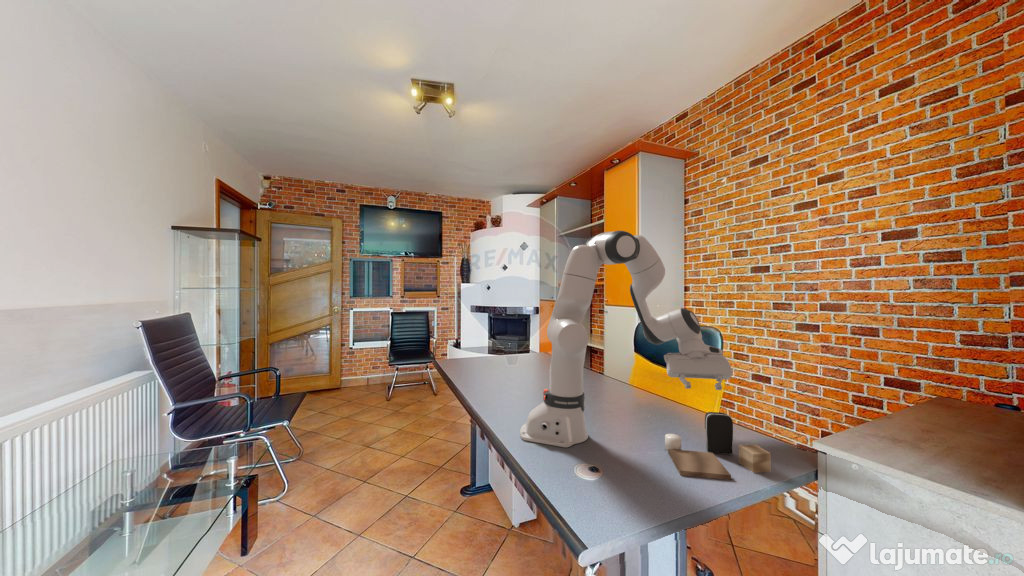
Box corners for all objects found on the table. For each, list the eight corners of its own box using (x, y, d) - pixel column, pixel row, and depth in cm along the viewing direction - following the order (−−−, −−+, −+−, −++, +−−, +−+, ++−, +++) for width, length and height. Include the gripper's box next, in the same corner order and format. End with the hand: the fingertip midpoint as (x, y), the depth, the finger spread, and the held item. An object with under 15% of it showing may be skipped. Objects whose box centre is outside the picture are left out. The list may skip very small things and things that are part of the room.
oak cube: (752, 472, 89) (752, 453, 89) (738, 463, 94) (738, 445, 94) (770, 472, 90) (770, 453, 90) (755, 462, 95) (755, 444, 95)
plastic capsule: (667, 452, 100) (667, 439, 100) (663, 446, 105) (663, 433, 105) (683, 454, 100) (683, 440, 100) (678, 447, 104) (678, 434, 104)
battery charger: (729, 449, 102) (729, 411, 102) (733, 455, 98) (733, 416, 98) (703, 447, 104) (703, 409, 104) (707, 452, 100) (707, 414, 100)
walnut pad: (680, 475, 88) (680, 470, 88) (668, 453, 100) (668, 448, 100) (730, 479, 86) (730, 475, 86) (712, 456, 98) (712, 452, 98)
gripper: (664, 347, 122) (672, 382, 112) (726, 349, 118) (740, 385, 109) (661, 357, 126) (668, 391, 117) (721, 359, 123) (734, 394, 113)
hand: (703, 388), depth 113 cm, fingers open, 8 cm apart
